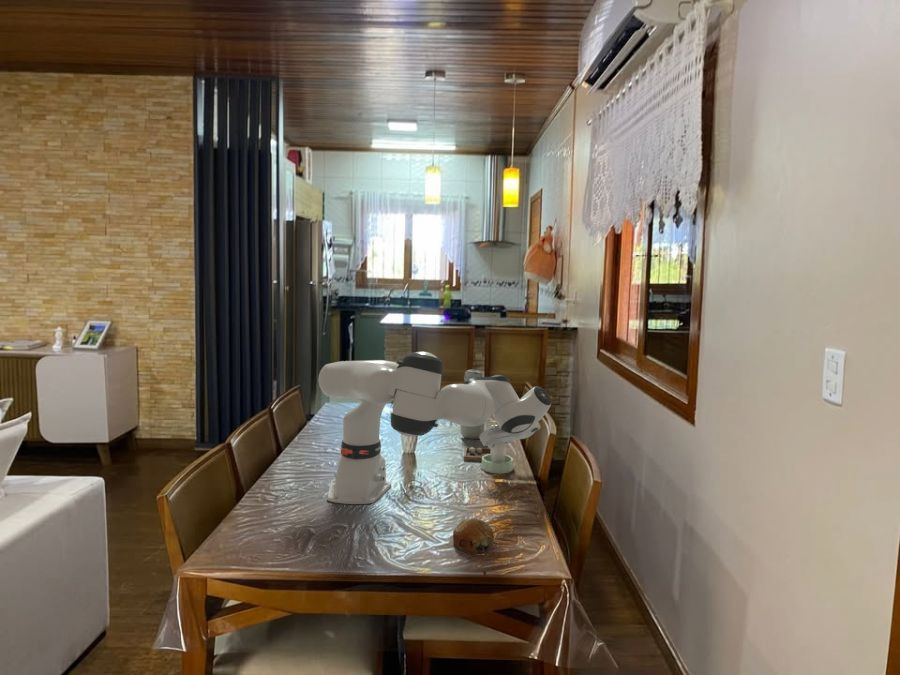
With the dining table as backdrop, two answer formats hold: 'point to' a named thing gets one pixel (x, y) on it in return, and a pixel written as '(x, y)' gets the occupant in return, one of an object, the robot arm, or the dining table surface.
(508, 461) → the bowl
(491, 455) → the jar
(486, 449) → the pebble tray
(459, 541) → the bread roll
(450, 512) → the dining table surface
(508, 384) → the robot arm
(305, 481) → the dining table surface
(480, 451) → the pebble
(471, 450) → the pebble
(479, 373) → the grey bottle
